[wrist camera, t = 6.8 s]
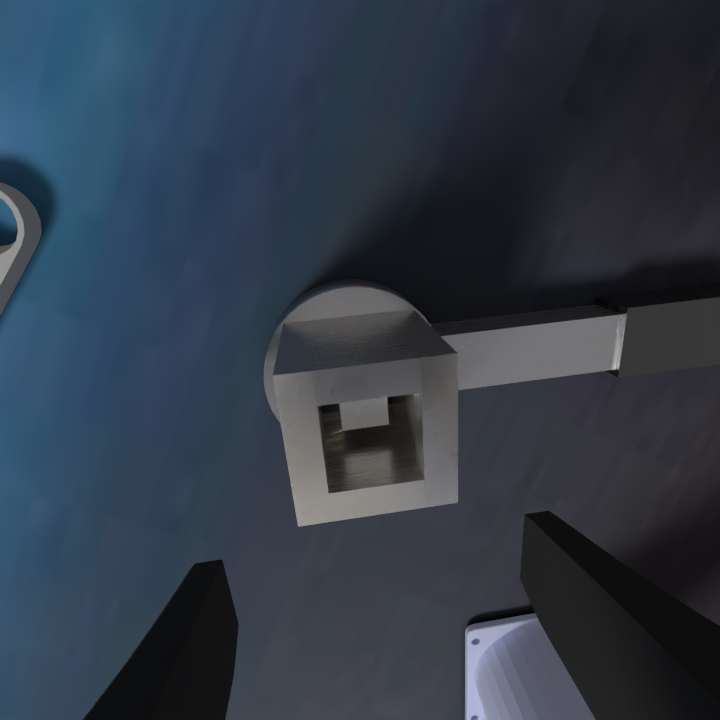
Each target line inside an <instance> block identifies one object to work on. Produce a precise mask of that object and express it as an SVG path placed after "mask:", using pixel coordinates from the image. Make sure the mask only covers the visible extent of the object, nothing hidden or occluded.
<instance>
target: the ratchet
mask: <svg viewBox="0 0 720 720" xmlns="http://www.w3.org/2000/svg"><path fill="white" fill-rule="evenodd" d="M407 309H414V310H415V311H416V312H417V313H418V314H419V315H420V316H421V317H422V318H423V319H424V320H425V321H426V322H427V323H428V324H429V322H428V321H427V320H426V318H425V317H424V316H423V315H422V314H421V313H420V312H419V311H418V310H417V309H416V308H415V307H414V306H413V305H412V304H411V303H410V302H409V301H408V300H407V299H405V298H404V297H403V296H402V295H400V294H399V293H398V292H396V291H395V290H393V289H391V288H389V287H387V286H385V285H382V284H380V283H377V282H373V281H369V280H363V279H341V280H335V281H330V282H327V283H324V284H321V285H319V286H316V287H314V288H312V289H310V290H308V291H307V292H305V293H304V294H302V295H301V296H299V297H298V298H297V299H296V300H295V301H294V302H292V303H291V305H290V306H289V307H288V308H287V309H286V310H285V311H284V313H283V314H282V316H281V317H280V319H279V320H278V322H277V324H276V326H275V328H274V331H273V334H272V337H271V340H270V343H269V347H268V351H267V354H266V359H265V364H264V386H265V392H266V395H267V399H268V402H269V404H270V407H271V409H272V411H273V413H274V414H275V416H276V418H277V419H278V421H279V422H280V417H279V411H278V405H277V399H276V393H275V387H274V381H273V371H274V366H275V361H276V356H277V351H278V346H279V341H280V336H281V331H282V326H283V323H290V322H299V321H308V320H317V319H326V318H335V317H344V316H353V315H362V314H371V313H380V312H389V311H398V310H407ZM429 325H430V326H431V327H432V328H433V329H434V330H435V331H436V332H437V333H438V334H439V335H440V336H441V337H442V338H443V339H444V340H445V341H446V342H447V343H448V344H449V345H450V346H451V347H452V348H453V349H454V350H455V351H456V352H457V353H458V390H462V389H470V388H477V387H485V386H493V385H500V384H508V383H515V382H523V381H531V380H538V379H546V378H554V377H561V376H569V375H576V374H584V373H592V372H599V371H607V372H609V373H611V374H612V375H614V376H616V377H618V378H619V377H627V376H634V375H642V374H649V373H657V372H664V371H672V370H679V369H687V368H694V367H702V366H709V365H717V364H720V283H718V284H710V285H701V286H693V287H684V288H675V289H667V290H658V291H650V292H641V293H633V294H624V295H616V296H607V297H599V298H596V301H595V305H587V306H578V307H570V308H561V309H553V310H544V311H536V312H527V313H519V314H511V315H502V316H494V317H485V318H477V319H468V320H460V321H451V322H443V323H434V324H429ZM388 404H392V397H384V398H376V399H368V400H361V401H353V402H345V403H337V404H329V405H322V412H323V413H325V412H332V411H339V412H340V418H341V425H342V431H345V430H352V429H359V428H367V427H374V426H381V425H389V417H388ZM280 423H281V422H280Z"/></svg>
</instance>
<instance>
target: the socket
mask: <svg viewBox="0 0 720 720" xmlns="http://www.w3.org/2000/svg"><path fill="white" fill-rule="evenodd" d="M273 381H274V387H275V393H276V399H277V405H278V411H279V417H280V422H281V428H282V434H283V440H284V446H285V452H286V458H287V463H288V469H289V475H290V481H291V487H292V493H293V499H294V505H295V510H296V516H297V522H298V527H299V526H305V525H312V524H319V523H325V522H332V521H339V520H345V519H352V518H359V517H365V516H372V515H379V514H385V513H392V512H399V511H405V510H412V509H419V508H425V507H432V506H439V505H445V504H452V503H458V353H457V352H456V351H455V350H454V349H453V348H452V347H451V346H450V345H449V344H448V343H447V342H446V341H445V340H444V339H443V338H442V337H441V336H440V335H439V334H438V333H437V332H436V331H435V330H434V329H433V328H432V327H431V326H430V325H429V324H428V323H427V322H426V321H425V320H424V319H423V318H422V317H421V316H420V315H419V314H418V313H417V312H416V311H415V310H414V309H407V310H398V311H389V312H380V313H371V314H362V315H353V316H344V317H335V318H326V319H317V320H308V321H299V322H290V323H283V326H282V331H281V336H280V341H279V346H278V351H277V356H276V361H275V366H274V371H273ZM384 397H392V404H388V417H389V425H381V426H374V427H367V428H359V429H352V430H345V431H342V425H341V418H340V412H339V411H332V412H325V413H323V412H322V405H329V404H337V403H345V402H353V401H361V400H368V399H376V398H384Z"/></svg>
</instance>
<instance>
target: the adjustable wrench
mask: <svg viewBox="0 0 720 720" xmlns="http://www.w3.org/2000/svg"><path fill="white" fill-rule="evenodd" d="M0 198H1V199H3V200H4V201H5V202H6V203H7V205H8V206H9V207H10V208H11V210H12V211H13V213H14V216H15V218H16V220H17V227H18V234H17V238H16V241H15V242H13V243H11V244H10V245H4V246H0V316H1V314H2V312H3V310H4V308H5V306H6V304H7V303H8V301H9V299H10V297H11V295H12V293H13V291H14V289H15V287H16V285H17V284H18V282H19V280H20V278H21V276H22V274H23V272H24V270H25V268H26V266H27V265H28V263H29V261H30V259H31V257H32V255H33V253H34V251H35V249H36V247H37V246H38V244H39V241H40V237H41V233H42V229H41V220H40V218H39V215H38V213H37V210H36V208H35V207H34V206H33V204H32V203H31V202H30V200H29V199H28V198H27V197H26V196H25V195H23V194H22V193H21V192H20V191H18V190H17V189H16V188H14V187H11V186H9V185H7V184H5V183H1V182H0Z"/></svg>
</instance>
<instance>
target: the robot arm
mask: <svg viewBox="0 0 720 720" xmlns="http://www.w3.org/2000/svg"><path fill="white" fill-rule="evenodd" d="M520 579H521V581H522V584H523V586H524V588H525V591H526V593H527V595H528V598H529V600H530V602H531V605H532V607H533V609H534V611H535V613H532V614H527V615H521V616H515V617H510V618H504V619H498V620H493V621H487V622H481V623H476V624H472V625H469V626H468V627H467V628H466V631H465V720H720V626H719V625H717V624H715V623H714V622H712V621H710V620H709V619H707V618H705V617H704V616H702V615H701V614H699V613H697V612H696V611H694V610H693V609H691V608H689V607H688V606H686V605H685V604H683V603H682V602H680V601H678V600H677V599H675V598H674V597H672V596H670V595H669V594H667V593H666V592H664V591H663V590H661V589H660V588H658V587H657V586H655V585H654V584H652V583H651V582H649V581H648V580H646V579H645V578H643V577H642V576H640V575H639V574H637V573H636V572H634V571H633V570H631V569H630V568H629V567H627V566H626V565H624V564H623V563H621V562H620V561H618V560H617V559H616V558H614V557H613V556H611V555H610V554H609V553H607V552H606V551H604V550H603V549H602V548H600V547H599V546H597V545H596V544H595V543H593V542H592V541H590V540H589V539H588V538H586V537H585V536H584V535H582V534H581V533H579V532H578V531H577V530H575V529H574V528H572V527H571V526H570V525H568V524H567V523H566V522H564V521H563V520H561V519H560V518H559V517H557V516H556V515H554V514H553V513H551V512H550V511H544V512H537V513H530V514H525V517H524V531H523V545H522V560H521V574H520ZM237 635H238V620H237V616H236V612H235V608H234V604H233V600H232V596H231V592H230V588H229V584H228V581H227V577H226V573H225V569H224V565H223V561H222V560H216V561H209V562H202V563H195V564H194V565H193V567H192V568H191V569H190V571H189V572H188V574H187V575H186V577H185V578H184V580H183V581H182V583H181V584H180V586H179V587H178V589H177V590H176V592H175V593H174V595H173V596H172V598H171V599H170V601H169V602H168V604H167V605H166V607H165V608H164V610H163V611H162V613H161V614H160V616H159V617H158V619H157V620H156V621H155V623H154V624H153V626H152V627H151V629H150V630H149V631H148V633H147V634H146V636H145V637H144V639H143V640H142V641H141V643H140V644H139V646H138V647H137V648H136V650H135V651H134V653H133V654H132V655H131V657H130V658H129V660H128V661H127V662H126V664H125V665H124V667H123V668H122V669H121V671H120V672H119V673H118V675H117V676H116V677H115V678H114V680H113V681H112V682H111V684H110V685H109V686H108V688H107V689H106V690H105V692H104V693H103V694H102V695H101V697H100V698H99V699H98V701H97V702H96V703H95V705H94V706H93V707H92V708H91V710H90V711H89V712H88V714H87V715H86V716H85V717H84V719H83V720H225V717H226V712H227V707H228V702H229V697H230V691H231V686H232V681H233V676H234V666H235V657H236V646H237Z"/></svg>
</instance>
